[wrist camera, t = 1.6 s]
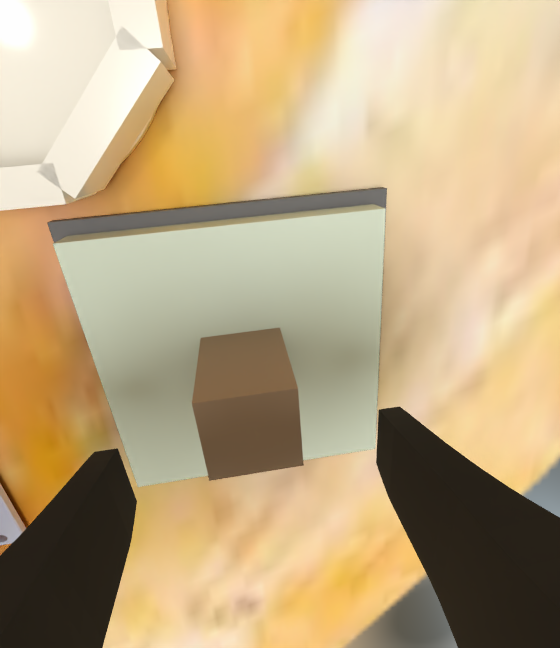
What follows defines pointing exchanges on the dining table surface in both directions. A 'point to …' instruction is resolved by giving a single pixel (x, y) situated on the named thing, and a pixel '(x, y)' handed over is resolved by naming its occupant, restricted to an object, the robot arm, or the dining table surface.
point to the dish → (76, 93)
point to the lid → (235, 338)
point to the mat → (217, 213)
